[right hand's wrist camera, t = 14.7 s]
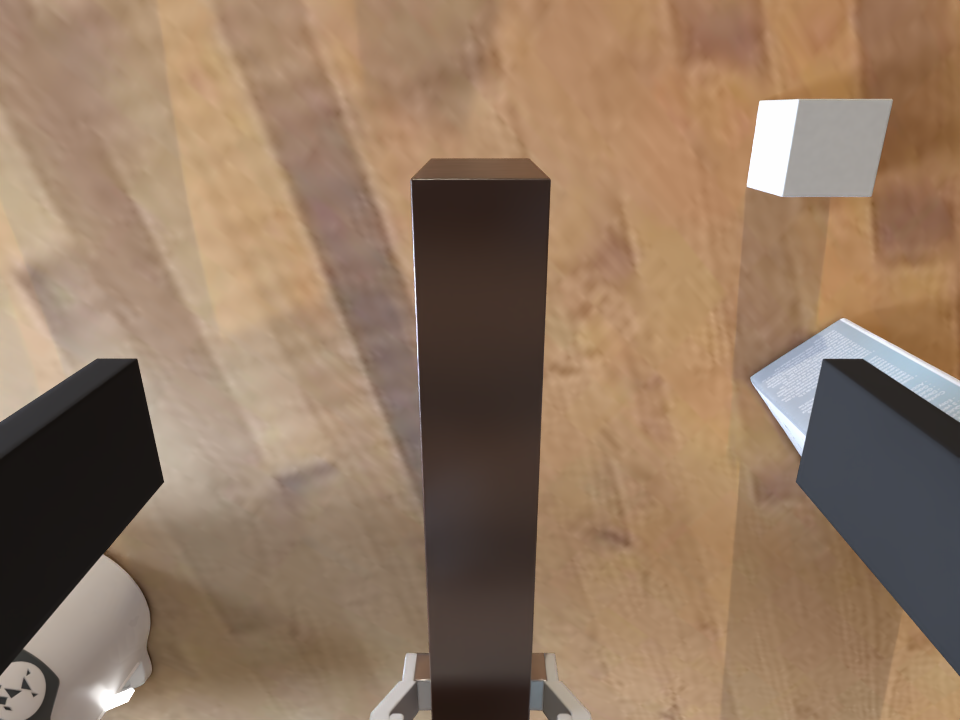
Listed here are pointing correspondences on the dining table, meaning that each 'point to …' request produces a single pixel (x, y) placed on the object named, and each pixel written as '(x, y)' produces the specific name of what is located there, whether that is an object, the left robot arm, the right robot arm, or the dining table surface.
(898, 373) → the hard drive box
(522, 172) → the walnut bar
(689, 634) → the dining table surface
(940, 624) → the right robot arm
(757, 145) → the grey cube
